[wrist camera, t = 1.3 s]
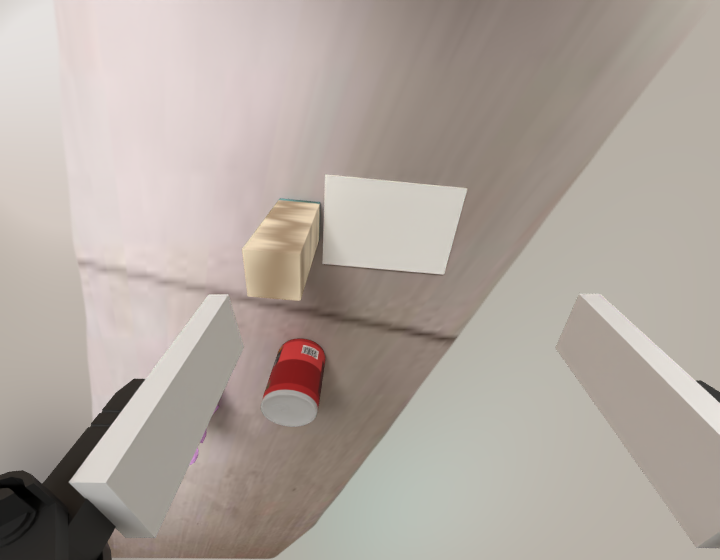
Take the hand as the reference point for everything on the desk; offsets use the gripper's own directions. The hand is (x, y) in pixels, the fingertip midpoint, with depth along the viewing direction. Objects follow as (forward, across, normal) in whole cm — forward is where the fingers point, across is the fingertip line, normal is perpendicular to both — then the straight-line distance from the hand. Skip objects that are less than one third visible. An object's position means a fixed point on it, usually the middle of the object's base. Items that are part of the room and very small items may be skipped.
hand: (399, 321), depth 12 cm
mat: (+28, +2, -8) cm, 30 cm away
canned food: (+29, -12, -31) cm, 44 cm away
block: (+29, -10, -7) cm, 31 cm away
